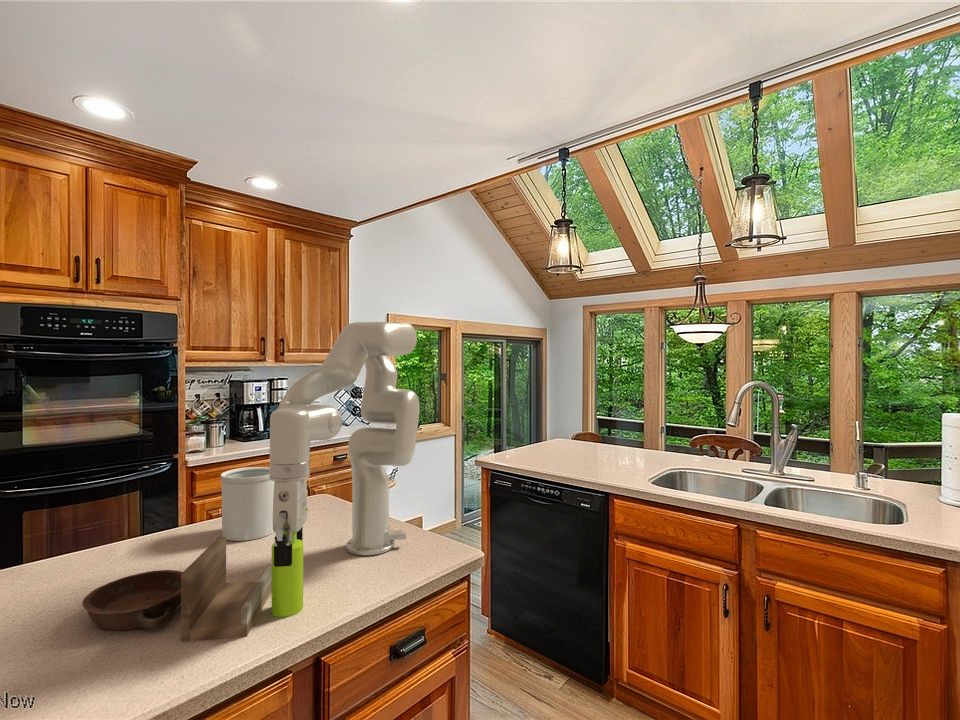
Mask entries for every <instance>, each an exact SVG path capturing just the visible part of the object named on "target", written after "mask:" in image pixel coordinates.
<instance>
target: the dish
mask: <svg viewBox="0 0 960 720" xmlns="http://www.w3.org/2000/svg"><path fill="white" fill-rule="evenodd" d="M183 572H184V571H182V570H181V571H180V570H173V569H163V570H161V569H160V570H151V571H145V572H141V573H136V574H132V575H129V576H125V577H120V578H118V579H116V580H113V581H111V582H108V583H106V584H103V585H101V586H99V587H96V588H94V589H93V590H92V591H90V592H89V593H88V594H87V595H86V596H85V597H84V598H83V600H82V602H81V603H82V607H83V608H84V610H86V611H87V613H88V616H89V619H90V621H91V623H93V624H94V626H96V627H97V628H99V629H100V628H101V629H104V630H105V629H106V630H110V631H111V630H112V631H124V630H134V629H139V628H144V629H148V630H149V629H158V628H160V627H162V626H164V625H165V624H167V622H168V621H170V619H171V615H172V613H174V612H176V610H177V609H178V608H179V607H181V574H182V573H183Z"/></svg>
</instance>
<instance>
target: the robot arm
mask: <svg viewBox="0 0 960 720" xmlns="http://www.w3.org/2000/svg"><path fill="white" fill-rule="evenodd" d="M416 331H417V330H416V329H415V327H414V326H413V325H411V324H410V323H408V322H391V321H356V322H355V321H354V322H351V323H348V324H346V325H345V326H344V327H343V328H342V330H341V331H340V333H339V335H338V336H337V338H336V340H335V342H334V344H333V345H332V347H331V348H330V350H329V353H328V354H327V355H326V358H325V360H324V361H323V363H322V364H320V365H319V366H317V367H316V368H314V369H313V370H311V371H309V372H308V373H306V374H305V375H304V376H303V377H301V378H299V379H298V380H297V381H296V382H294V383H293V384H292V385H291V386H290V388H289V389H288V390H287V391H286V393H285V394H284V396H283V398H282V400H281V401H280V402H279V404H278V406H277V408H276V409H275V410H273V411H272V412H271V414H270V417H269V467H270V473H269V479H270V480H271V481H274V492H273V493H274V495H273V531H274V532H273V533H275V536H274V542H273V544H274V566H275V567H283V566H291V565H292V544H291V537H292V531H296V532H297V539H299V540H302V541H303V529H304V528H303V527H304V525H305V523H306V522H307V519H308V516H309V515H308V514H309V513H308V510H309V509H308V510H307V511H305V508H308V484H307V479H308V478H310V472H311V471H310V469H311V468H310V467H311V466H310V464H311V463H310V462H311V461H310V460H311V458H310V457H311V452H310V451H311V442H314V441H328V440H331V439H333V438H334V437H336V435H338V434H339V433H340V431H341V429H342V426H343V417H342V415H341V412H340V411H339V410H338V409H337V408H335V406H334V407H333V406H331V405H326V404H325V405H324V404H312V403H314V402H315V401H316V400H318V399H320V398H322V397H325V396H327V395H328V394H332V393H334V392H337V391H340V390H343V389H345V388H348V387H350V386H352V385H354V383H355V382H356V381H357V379H358V376H359V375H360V373H361V370H362V368H363V366H365V371H366V372H365V382H364V387H363V392H362V398H361V399H362V400H361V404H360V405H361V407H360V415H361V418H362V419H363V420H364V421H365V422H368V423H371V424H382V425H395V428H384V427H363V428H362V427H361V428H359V429H356V430H354V432H352V434H350V437H349V439H348V444H347V446H348V448H347V449H348V455H349V460H350V466H351V478H352V480H351V481H352V483H351V484H352V494H351V495H352V496H351V497H352V510H351V511H352V516H351V517H352V518H351V519H352V521H351V522H352V524H351V526H352V529H351V531H352V532H351V535H352V536H351V537H352V538H350V539H349V540H348V541H347V542H346V544H345V549H346V551H347V552H349V553H350V554H353V555H355V556H356V555H357V556H376V555H381V554H383V553H384V554H385V553H386V552H389V551H390V550H392V549H393V548H395V542H396V541H397V540H399V541H400V540H401V541H403V540H407V539H406V538H407V532H406V531H402V529H397V530H393V529H391V524H390V480H389V479H390V478H389V476H388V473H387V470H386V469H385V467H384V466H388V467H390V466H392V467H405V466H407V465H409V464H410V463H411V461H412V459H414V454H415V450H416V443H417V434H418V428H419V427H418V426H419V421H420V420H419V418H420V410H421V409H420V408H421V406H420V400H419V397H418V395H417V393H416V392H415V391H413V390H411V389H407V388H397V381H398V371H397V368H396V366H395V364H394V363H393V361H392V360H391V358H390V357H394V356H403V355H409V354H410V353H412V352H413V351H414V350H415V348H416V345H417V342H418V337H417V336H418V335H417V332H416ZM287 517H288V519H287ZM286 527H290V528H286ZM287 533H288V536H286V534H287ZM395 540H396V541H395Z"/></svg>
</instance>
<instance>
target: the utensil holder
mask: <svg viewBox="0 0 960 720" xmlns="http://www.w3.org/2000/svg"><path fill="white" fill-rule="evenodd" d="M269 473H270V466H269V467H268V466H249V467H239V468H234V469H229V470H226V471H224V472H222V473H221V474H220V481H221V530H222V531H221V532H222V534H221V535H222V537H226V541H233V542H244V541H251V540H252V541H253V540H257V539H261V538H265V537H267V536H270V535H272V532H273V533H275V532H274V531H273V495H274V493H273V492H274V481H271V480H270V479H269Z"/></svg>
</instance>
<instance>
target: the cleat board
mask: <svg viewBox="0 0 960 720" xmlns="http://www.w3.org/2000/svg"><path fill="white" fill-rule="evenodd" d="M182 572H183V573H182V574H181V604H180V642H190V641H203V640H212V639H213V640H215V639H226V638H238V637H239V638H240V637H241V638H242V637H247V636H248V635H249V634H250V631H251V630H252V627H253V626H254V624H255V622H256V620H257V619H258V617H259V615H260V613H261V611H262V610H263V607H264V606H265V604H266V602H267V600H268V598H269V597H270V595H272V565H271V566H267V567H266V569H265V571H264V573H263V574H262V576H261V577H260V579H259V580H255V581H254V580H253V581H240V582H239V581H237V582H227V539H226V537H223V536H218V537H217V538H216V539H215V540H214V541H213V542H212V543H211V544H210V545H209V546H208V547H207V548H206V549H205V550H204V551H203V552H202V553H201V554H200V555H199V556H198V557H197V558H195V560H194V561H192V563H191V564H189V566H188V567H187V568H186V569H185V570H184V571H182Z"/></svg>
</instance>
